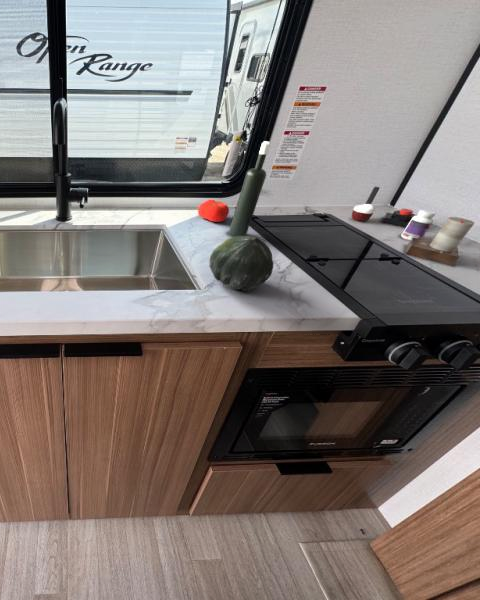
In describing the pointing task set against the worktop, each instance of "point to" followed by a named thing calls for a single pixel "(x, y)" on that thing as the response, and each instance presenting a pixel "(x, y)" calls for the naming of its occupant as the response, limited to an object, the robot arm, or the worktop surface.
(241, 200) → the wine bottle
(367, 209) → the cocoa
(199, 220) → the worktop surface
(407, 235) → the pill bottle
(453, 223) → the beige waisted cup
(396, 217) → the button box
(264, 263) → the squash
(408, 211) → the button
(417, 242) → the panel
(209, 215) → the tomato
